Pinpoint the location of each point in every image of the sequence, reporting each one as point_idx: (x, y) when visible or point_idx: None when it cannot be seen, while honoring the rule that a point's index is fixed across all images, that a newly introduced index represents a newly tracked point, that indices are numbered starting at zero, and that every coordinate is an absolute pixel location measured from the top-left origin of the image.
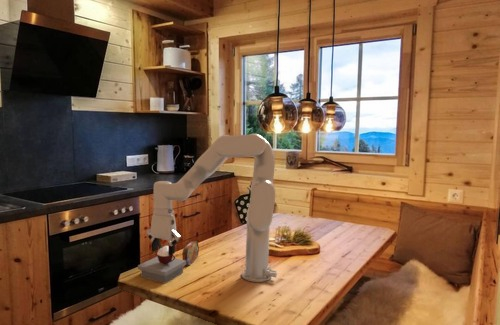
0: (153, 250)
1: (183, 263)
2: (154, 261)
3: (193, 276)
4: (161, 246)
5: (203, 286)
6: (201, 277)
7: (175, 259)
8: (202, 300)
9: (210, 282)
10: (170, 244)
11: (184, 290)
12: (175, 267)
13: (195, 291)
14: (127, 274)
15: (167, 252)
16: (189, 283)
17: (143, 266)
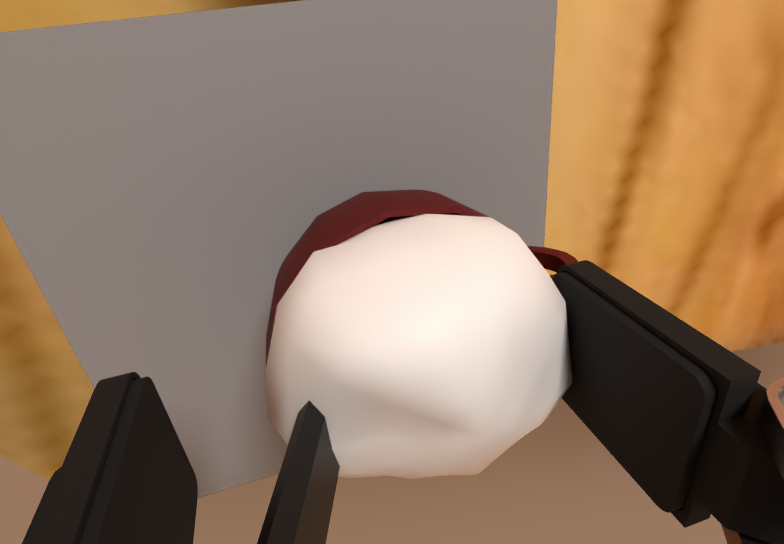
0: (192, 499)
1: (545, 63)
2: (185, 319)
3: (594, 41)
4: (318, 451)
5: (737, 153)
6: (672, 8)
7: (374, 44)
8: (775, 296)
9: (771, 52)
10: (750, 534)
11: (641, 287)
12: (539, 242)
13: (709, 248)
14: (24, 444)
15: (547, 414)
16: (626, 186)
17: (235, 477)
